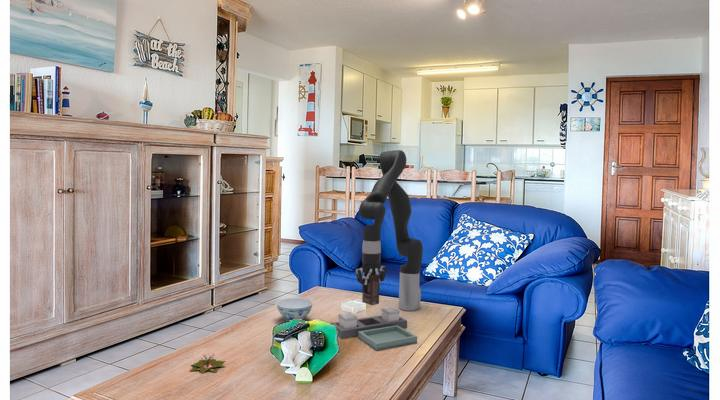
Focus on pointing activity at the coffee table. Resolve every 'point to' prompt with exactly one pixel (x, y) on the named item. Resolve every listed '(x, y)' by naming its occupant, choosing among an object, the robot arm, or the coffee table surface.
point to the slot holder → (368, 325)
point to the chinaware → (294, 308)
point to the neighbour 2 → (390, 314)
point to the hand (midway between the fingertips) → (370, 292)
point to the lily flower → (207, 362)
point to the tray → (387, 337)
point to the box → (372, 290)
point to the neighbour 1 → (347, 320)
